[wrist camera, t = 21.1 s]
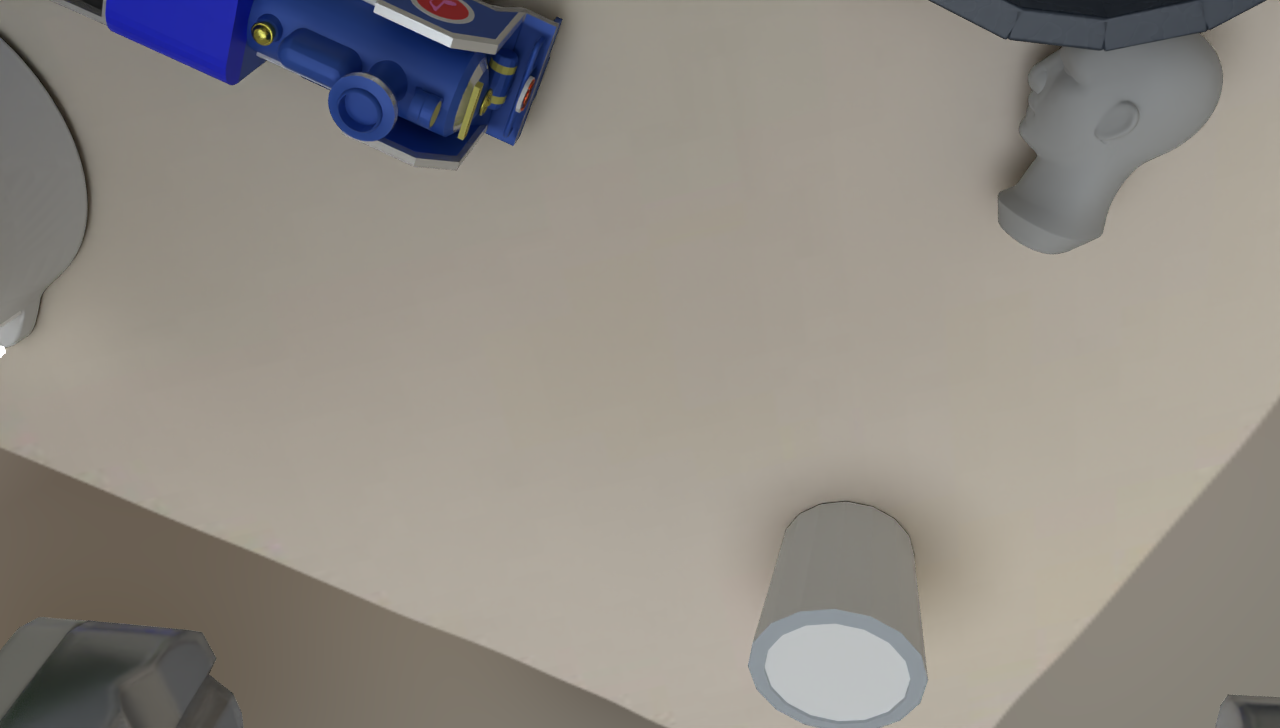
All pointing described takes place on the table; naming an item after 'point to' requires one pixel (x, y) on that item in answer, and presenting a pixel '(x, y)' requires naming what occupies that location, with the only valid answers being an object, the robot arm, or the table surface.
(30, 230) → the robot arm
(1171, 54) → the grey rounded elongated piece
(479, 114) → the toy train
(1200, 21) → the tin
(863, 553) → the white cylinder
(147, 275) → the table surface
